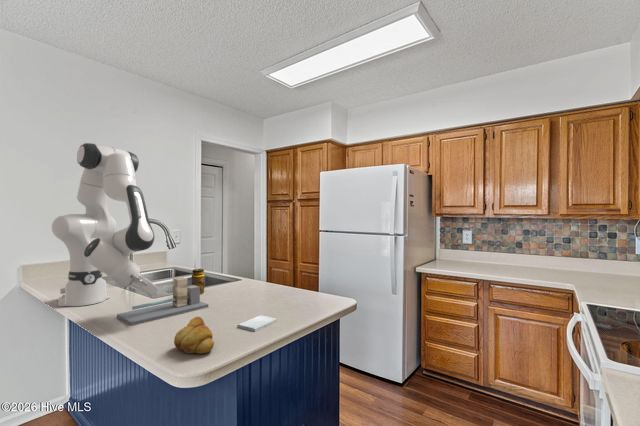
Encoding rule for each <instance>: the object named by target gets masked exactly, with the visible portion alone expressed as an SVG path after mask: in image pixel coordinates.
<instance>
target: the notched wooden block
mask: <svg viewBox="0 0 640 426" xmlns="http://www.w3.org/2000/svg"><path fill="white" fill-rule="evenodd" d="M187 286H188V277H183V276H181V277H174V278H172V299H173V298H177V301H173V305H174V306H176V307H180V306H185V305H187Z"/></svg>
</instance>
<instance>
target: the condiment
mask: <svg viewBox="0 0 640 426" xmlns="http://www.w3.org/2000/svg"><path fill="white" fill-rule="evenodd" d="M204 272H205V270H204V269H203V268H195V269H192V273H191V285H195V286H199V287H200V296H202V295H207V293H206V292H205V273H204Z"/></svg>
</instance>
